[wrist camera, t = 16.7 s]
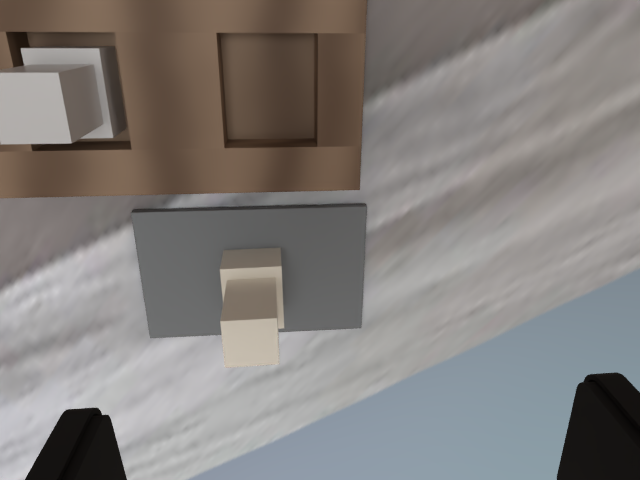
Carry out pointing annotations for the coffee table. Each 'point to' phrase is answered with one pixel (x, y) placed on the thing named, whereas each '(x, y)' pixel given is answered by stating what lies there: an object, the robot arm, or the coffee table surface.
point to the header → (202, 96)
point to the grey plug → (61, 96)
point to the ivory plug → (251, 306)
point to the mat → (251, 233)
